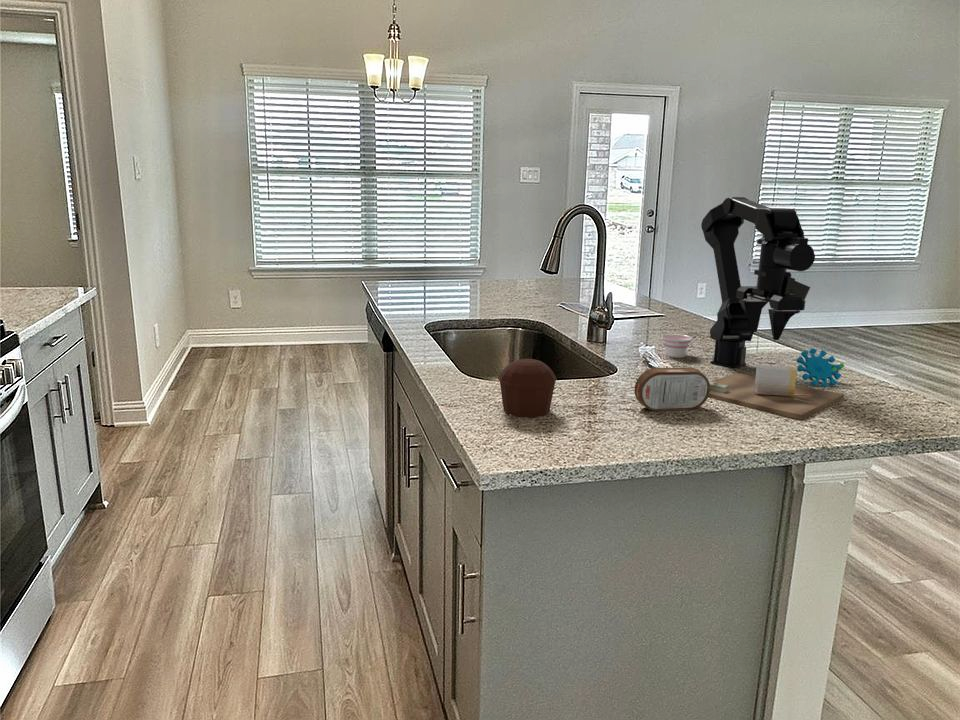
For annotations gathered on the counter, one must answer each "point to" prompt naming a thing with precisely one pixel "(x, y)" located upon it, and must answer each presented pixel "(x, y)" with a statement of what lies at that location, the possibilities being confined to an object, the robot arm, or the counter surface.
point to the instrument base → (771, 397)
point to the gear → (819, 368)
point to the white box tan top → (775, 380)
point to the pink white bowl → (676, 345)
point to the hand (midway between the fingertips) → (764, 335)
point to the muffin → (527, 388)
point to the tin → (672, 389)
